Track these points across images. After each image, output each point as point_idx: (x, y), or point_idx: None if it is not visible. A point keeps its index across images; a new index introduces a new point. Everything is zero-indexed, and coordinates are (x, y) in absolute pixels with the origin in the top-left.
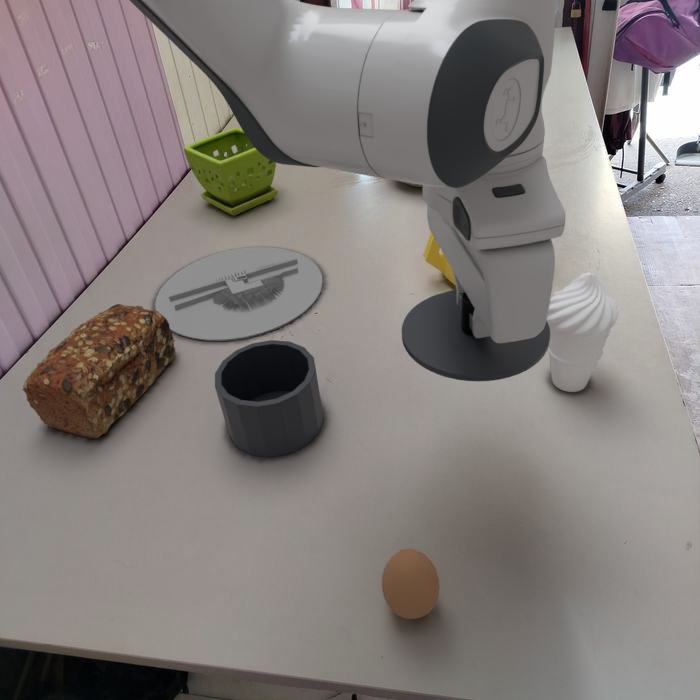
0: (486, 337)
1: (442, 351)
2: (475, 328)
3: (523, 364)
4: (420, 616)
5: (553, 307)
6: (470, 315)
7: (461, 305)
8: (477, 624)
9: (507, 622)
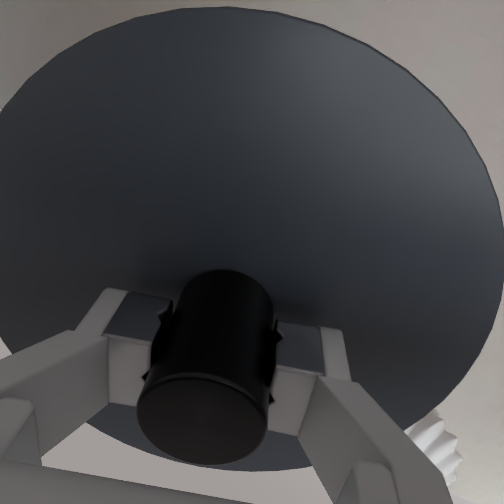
0: None
1: (134, 149)
2: (87, 313)
3: (5, 336)
4: None
5: (417, 440)
6: (138, 339)
7: (281, 340)
8: (40, 23)
9: (37, 66)
